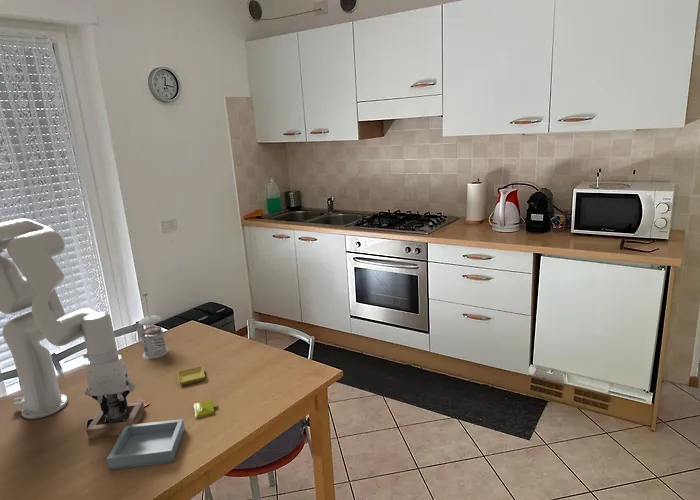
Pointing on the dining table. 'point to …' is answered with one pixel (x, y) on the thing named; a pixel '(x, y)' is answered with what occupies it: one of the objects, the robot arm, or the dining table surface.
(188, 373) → the yellow shallow rimmed piece
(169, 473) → the dining table surface
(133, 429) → the tray
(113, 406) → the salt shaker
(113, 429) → the hollow square frame
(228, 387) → the dining table surface
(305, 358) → the dining table surface
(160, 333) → the french press
